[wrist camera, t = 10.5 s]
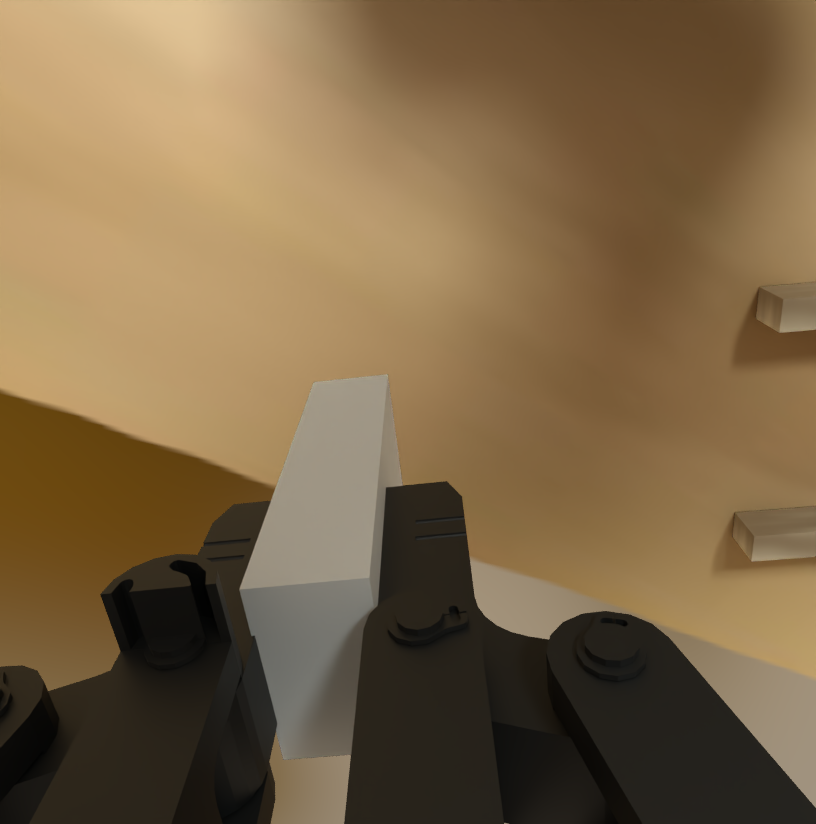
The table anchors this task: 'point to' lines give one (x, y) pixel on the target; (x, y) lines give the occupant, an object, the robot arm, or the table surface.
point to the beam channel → (793, 526)
